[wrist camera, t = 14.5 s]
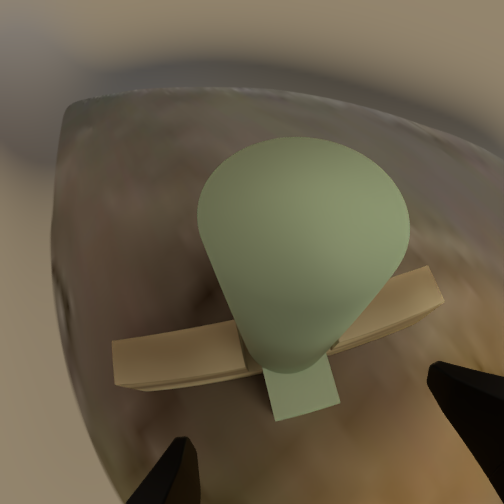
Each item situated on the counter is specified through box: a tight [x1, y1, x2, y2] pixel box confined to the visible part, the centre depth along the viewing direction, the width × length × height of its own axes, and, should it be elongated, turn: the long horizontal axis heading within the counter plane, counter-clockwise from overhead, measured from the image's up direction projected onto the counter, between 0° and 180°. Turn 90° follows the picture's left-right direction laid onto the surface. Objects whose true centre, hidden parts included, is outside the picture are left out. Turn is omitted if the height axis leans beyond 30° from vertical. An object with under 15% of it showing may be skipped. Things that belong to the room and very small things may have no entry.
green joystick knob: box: [197, 137, 410, 421], centre depth 10 cm, size 8×4×13 cm, turn 12°
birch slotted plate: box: [112, 265, 444, 391], centre depth 14 cm, size 2×18×4 cm, turn 103°
